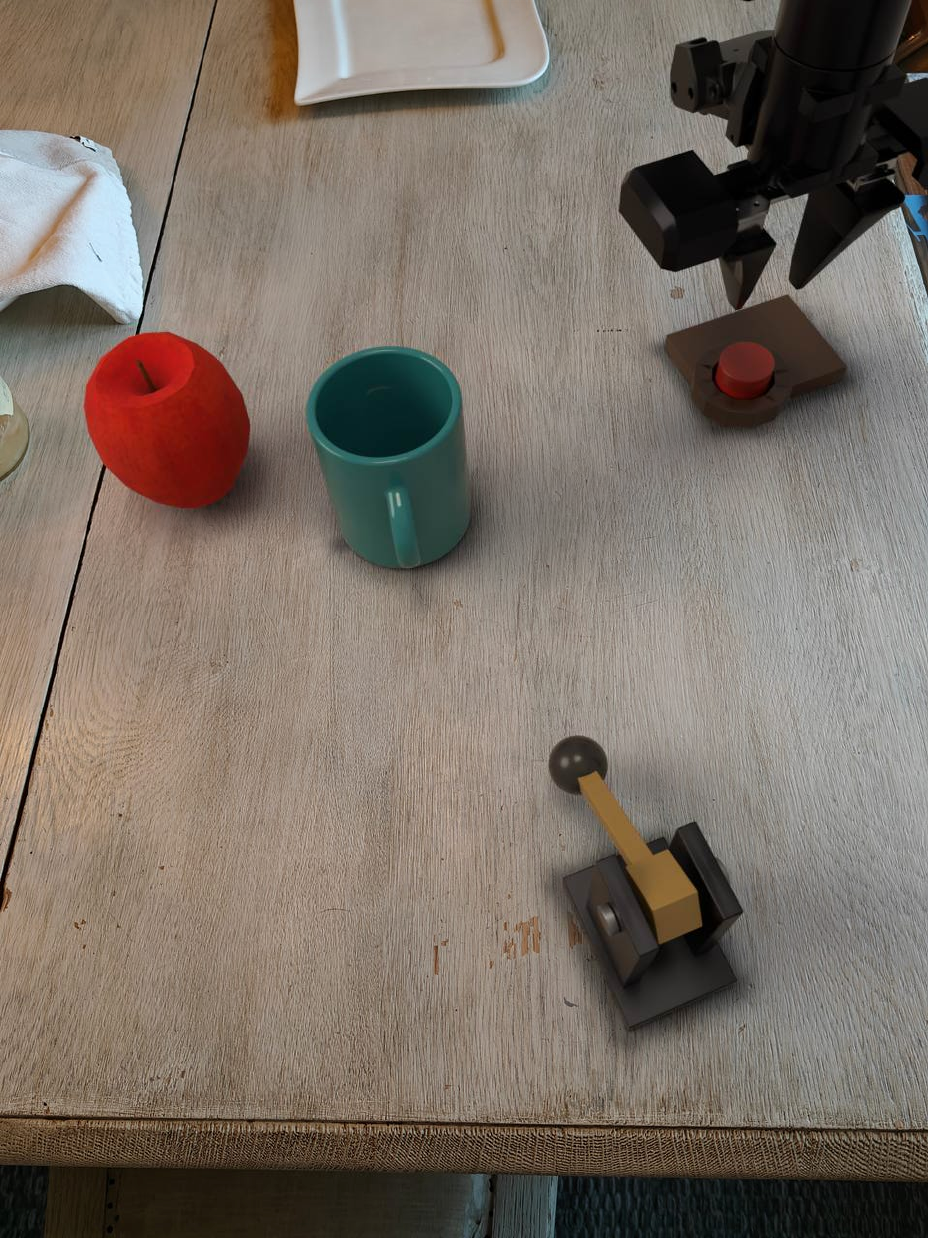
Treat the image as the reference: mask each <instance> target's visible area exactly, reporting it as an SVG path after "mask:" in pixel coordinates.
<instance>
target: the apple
mask: <svg viewBox="0 0 928 1238" xmlns="http://www.w3.org/2000/svg"><path fill="white" fill-rule="evenodd" d="M83 410H84V411H83V412H84V416H85V421H86V422H85V423H86V427H87V434H88V435H89V437H90V440H91V442H92V444H93V446H94V448H95V450H96V453H97V455H98V456H99V458H100V460H101V463H102V464H103V466H105V468H106V469H107V470H109V472H110V473H112V474H113V476H115V477H116V478H117V479H118V480H119V481H120V482H121V484H122V485H124V487H126V488H127V489H129V490H131V491H133V492H134V493H136V494H138V495H140V496H142V497H144V498H145V499H148V500H150V501H152V502H154V503H157V504H160V505H163V506H164V505H165V506H169V507H174V508H177V509H198V508H201V507H206V506H207V507H208V506H209V505H211V504H213V503H215V502H218V501H220V500H221V499H223V498H224V497H225V496H226V495H227V494H228V493H229V492H230V491H231V490H232V489H233V487H234V485H235V483H236V480H237V478H238V476H239V474H240V472H241V469H242V467H243V465H244V462H245V460H246V458H247V455H248V452H249V445H250V438H251V437H250V435H251V426H252V424H251V421H250V417H249V413H248V409H247V406H246V402H245V399H244V395H243V393H242V391H241V390H240V388H239V386H238V385H237V384H236V382H235V381H234V379H233V378H232V376H231V375H230V373H229V372H228V370H227V368H226V367H225V365H224V364H223V363H222V362H221V361H220V360H219V359H218V358H217V357H216V356H215V355H213V354H212V353H211V352H210V351H208V350H207V349H205V348H204V347H203V346H201V345H200V344H199V343H197V342H194V341H192V340H190V339H189V338H188V339H187V338H185V337H183V336H180V335H178V334H176V333H173V332H171V331H154V332H151V331H150V332H142V333H139V334H134V335H131V336H128V337H127V338H125V339H123V340H121V341H120V342H119V343H118V344H117V345H116V346H114V347H113V348H112V349H110V350H109V351H107V352H106V353H105V354H104V355H102V356H101V357H100V358H99V360H98V362H97V363H96V365H95V367H94V370H92V373H91V375H90V376H89V379H88V381H87V383H86V385H85V391H84V400H83Z"/></svg>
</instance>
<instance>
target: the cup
mask: <svg viewBox="0 0 928 1238" xmlns="http://www.w3.org/2000/svg"><path fill="white" fill-rule="evenodd" d="M463 402H464V401H463V395H462V390H461V386H460V383H459V381H458V379H457V377H456V376H455V374H454V373H453V371H451V369H450V368H449V367H448V365H446V364H445V363H444V362H443V361H442V360H440V359H439V358H437V357H435V356H433V355H431V354H430V353H428V352H425V351H422V350H420V349H416V348H412V347H408V346H398V345H385V346H382V345H381V346H374V347H369V348H366V349H361V350H359V351H356V352H353V353H351V354H348V355H346V356H344V357H342V358H341V359H339V360H337V361H336V362H334V363H333V364H332V365H330V366H329V367H328V368H327V369H326V370H324V372H323V373H321V375H320V376H319V377H318V378H317V380H316V381H315V383H314V384H313V385H312V387H311V390H310V391H309V394H308V398H307V401H306V407H305V417H306V418H305V419H306V424H307V427H308V430H309V431H308V432H309V434H310V437H311V440H312V444H313V447H314V450H315V454H316V457H317V460H318V463H319V464H318V465H319V467H320V471H321V473H322V478H323V481H324V484H325V487H326V490H327V493H328V497H329V500H330V503H331V507H332V510H333V513H334V517H335V520H336V523H337V526H338V529H339V532H340V535H341V536H342V539H343V541H344V542H345V543H346V544H347V546H348V547H349V548H350V549H351V551H353V552H354V553H355V554H356V555H358V556H359V557H361V558H362V559H364V560H365V561H368V562H370V563H372V564H375V565H377V566H381V567H384V568H385V567H386V568H392V569H413V568H416V567H419V566H425V565H427V564H429V563H432V562H435V561H436V560H438V559H441V558H442V557H443V556H445V555H446V554H447V553H449V552H450V551H452V549H454V548H455V546H457V544H458V543H459V542H460V541H461V540H462V538H463V537H464V535H465V533H466V532H467V530H468V527H469V524H470V522H471V517H472V508H473V507H472V494H471V492H472V491H471V482H470V471H469V459H468V448H467V438H466V437H467V436H466V425H465V416H464V415H465V414H464V403H463Z"/></svg>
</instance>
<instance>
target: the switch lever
mask: <svg viewBox="0 0 928 1238" xmlns="http://www.w3.org/2000/svg"><path fill="white" fill-rule="evenodd" d="M608 762H609V761H608V757H607V753H606V752H605V750H604V748H603V747H602V746H601V744H600V743H598V742H597V741H596V740H594V739H593V738H591V737H589V736H585V735H579V734H578V735H570V736H567V737H565V738H562V739H561V740H560V741H558V743H556V744H555V746H553V748H552V749H551V752H550V754H549V757H548V771H549V775H550V777H551V779H552V781H553V782H554V784H555V786H557V788H559V789H560V790H562V792H565V793H567V794H570V795H574V796H583V797H584V799H585V800H586V803H588V805H589V806H590V808H591V810H592V811H593V813H594V816H595V817H596V818H597V819H598V821H599V823H600V824H601V826H602V827H603V829H604V830H605V832H606V834H607V835H608V837H609V839H610V840H611V842H612V844H613V845H614V846H615V848H616V849H617V851H618V853H619V855H620V854H621V856H622V857H623V859H624V861H625V862H626V864H627V865H628V866H626V872H627V877H628V881H629V883H630V885H631V887H632V889H633V892H634V894H635V896H636V898H637V900H638V902H639V904H640V906H641V908H642V910H643V913H644V915H645V917H646V919H647V921H648V923H649V925H650V927H651V929H652V931H653V933H654V936H655V938H656V940H657V942H658V944H662V943H664V942H667V941H669V940H671V939H674V938H676V937H678V936H681V935H683V934H685V933H688V932H690V931H692V930H695V929H697V928H699V927H702V919H701V912H700V905H699V898H698V891H697V890H696V888H695V887H694V885H693V884H692V883H691V881H690V880H689V878H688V877H687V875H686V874H685V873H684V871H683V870H682V868H681V867H680V865H679V864H678V863H677V861H676V860H675V858H674V857H673V855H672V854H671V852H670V851H669V850H668V849H667V850H665V851H662V852H660V853H658V854H655V855H653V854H652V852H651V851H650V849H649V848H648V846H647V845H646V842H645V841H644V839H643V838H642V836H641V834H640V833H639V831H638V830H637V829H636V827H635V825H634V824H633V823H632V821H631V819H630V818H629V817H628V815H627V814H626V812H625V811H624V809H623V808H622V806H621V804H619V802H618V800H617V799H616V796H614V794H613V793H612V792H611V790H610V788H609V787H608V785H607V784H606V783H605V780H606V777H607V774H608V770H609V763H608Z"/></svg>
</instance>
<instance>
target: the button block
mask: <svg viewBox="0 0 928 1238" xmlns="http://www.w3.org/2000/svg"><path fill="white" fill-rule="evenodd" d="M739 342H751V343H755V344H758V345H761V346H763V347H764V348H766V349H767V350H768V351H769V352H770V353H771V354H772V356H773V358H774V362H775V366H774V370H773V373H772V376H771V380H770V383H769V386H768V388H767V390H766V391H765V392H764V393H763V394H761V395H760V396H758V397H756V398H752V399H737V398H733V397H731V396H728V395H727V394H725V393H724V392H722V391H721V390H720V388H719V387H718V385H717V383H716V372H717V367H718V363H719V359H720V355H721V353H722V352H723V351H724V350H725V349H726V348H727V347H728V346H730V345H732V344H735V343H739ZM663 349H664V351H665V353H666V354H667V355H668V357H669V358H670V360H671V361H672V362H673V364H674V365H675V367H676V368H677V370H678V371H679V372H680V374H681V376H682V377H683V379H684V380H685V381H686V383H687V385H689V387H690V399H691V400H692V402H693V403H694V405H695V406H696V408H697V409H698V411H699V412H700V414H701V415H702V416H703V417H705V418H707V419H709V420H711V421H713V422H714V423H715V425H721V426H722V427H725V428H735V429H746V430H747V429H749V430H751V429H755V428H757V427H761V426H763V425H767V424H769V423H772V422H774V421H776V419H777V418H778V417H779V416H780V415H781V413H782V412H783V411H784V409H785V408H786V407H787V406H788V403H789V400H791V399H793V398H796V397H800V396H802V395H806V394H808V393H811V392H813V391H816V390H819V389H821V388H824V387H828V386H831V385H833V384H835V383H839V382H841V381H843V380H844V376H845V375H846V371H847V369H848V365H847V364H846V363H845V362H844V360H843V359H842V358H841V357H840V355H839V354H838V353H837V352H836V351H835V349H834V348H833V346H831V344H830V343H829V342H828V341H827V339H825V337H824V336H823V335H822V334H821V333H820V331H819V330H818V328H817V327H816V326H815V325H814V324H813V323H812V321H811V320H810V319H809V318H808V317H807V316H806V313H804V312H803V310H802V309H801V308H800V307H799V306H798V305H797V303H796V302H795V301H794V300H793V298H792V297H791V296H790V295H789V294H788V293H786V294H784V295H781V296H779V297H775V298H772V299H769V300H766V301H763V302H760V303H757V304H754V305H751V306H749V307H746V308H742V309H740V310H735V311H734V312H730V313H727V314H725V315H722V316H718V317H716V318H712V319H709V320H706V321H704V322H701V323H698V324H696V325H692V326H690V327H686V328H683V329H680V330H677V331H674V332H671V333H668V334H666V335H665V340H664V347H663Z"/></svg>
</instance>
